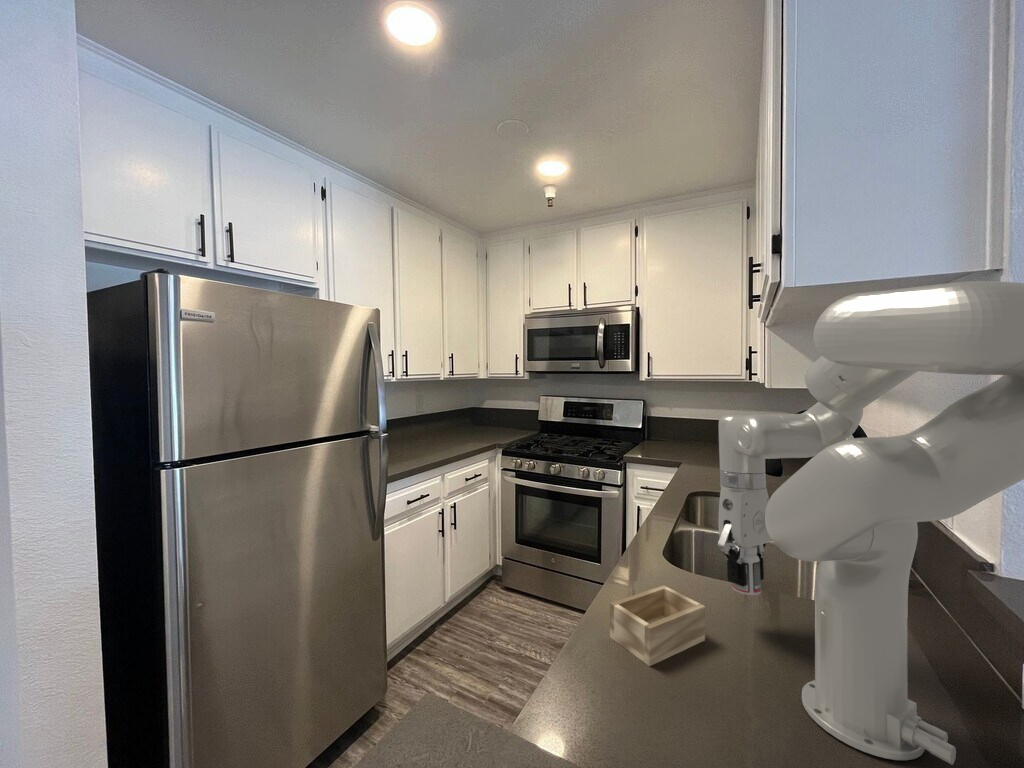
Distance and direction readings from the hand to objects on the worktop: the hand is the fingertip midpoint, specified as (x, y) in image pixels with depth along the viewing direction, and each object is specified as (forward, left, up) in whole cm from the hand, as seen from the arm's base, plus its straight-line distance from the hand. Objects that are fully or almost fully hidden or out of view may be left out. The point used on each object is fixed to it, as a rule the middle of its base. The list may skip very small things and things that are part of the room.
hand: (745, 579), depth 77 cm
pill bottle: (0, 0, -2) cm, 2 cm away
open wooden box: (+6, +17, -9) cm, 20 cm away
